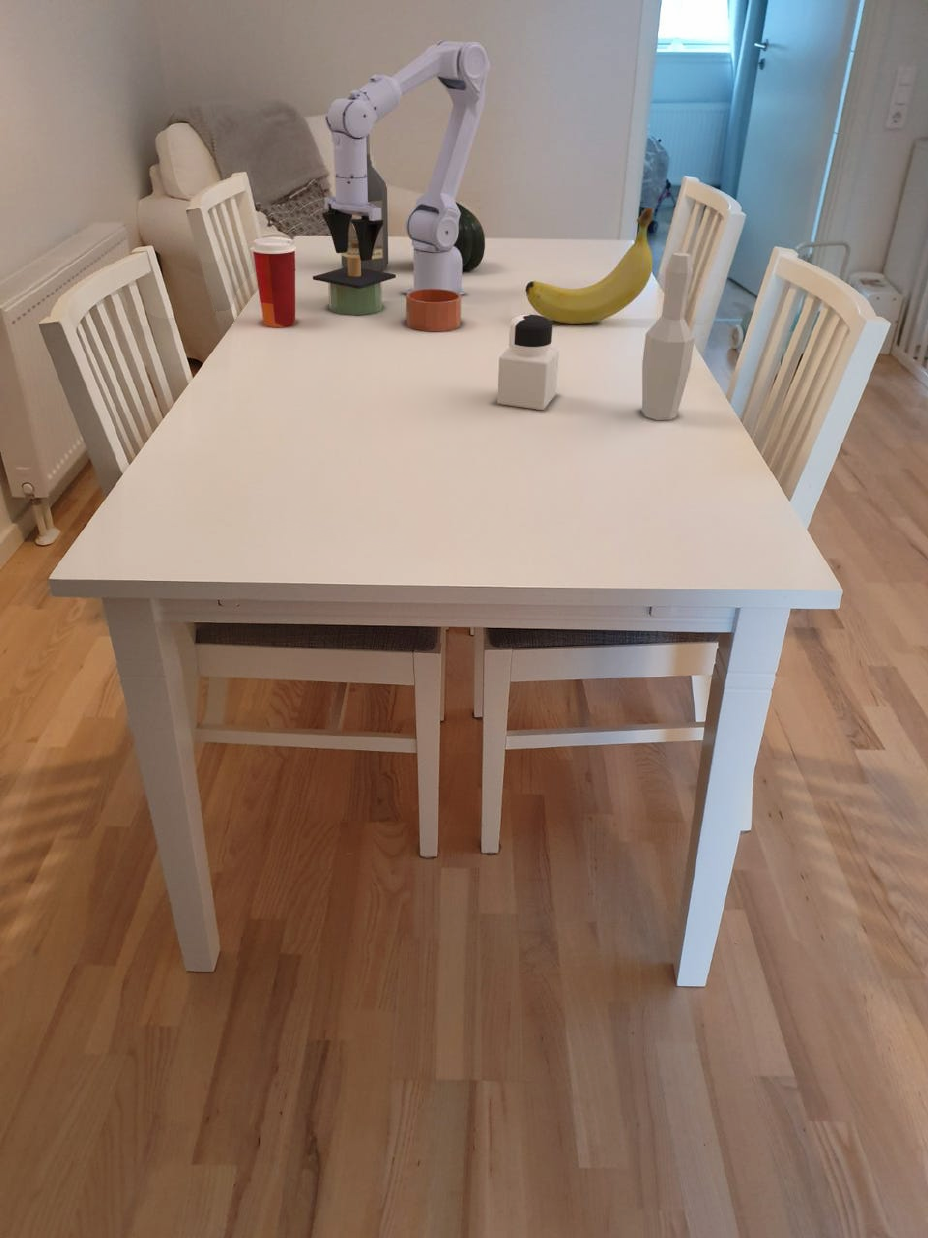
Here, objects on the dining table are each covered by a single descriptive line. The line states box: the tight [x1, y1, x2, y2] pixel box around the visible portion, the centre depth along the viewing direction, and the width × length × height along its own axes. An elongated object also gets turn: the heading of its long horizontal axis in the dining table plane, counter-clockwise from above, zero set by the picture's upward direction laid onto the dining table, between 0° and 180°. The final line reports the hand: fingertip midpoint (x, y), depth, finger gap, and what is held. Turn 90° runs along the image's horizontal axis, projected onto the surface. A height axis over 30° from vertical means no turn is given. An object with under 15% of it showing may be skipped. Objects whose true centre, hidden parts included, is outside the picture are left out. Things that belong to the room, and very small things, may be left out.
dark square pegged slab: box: [312, 255, 397, 289], centre depth 178 cm, size 11×11×4 cm
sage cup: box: [327, 282, 383, 316], centre depth 181 cm, size 10×10×5 cm
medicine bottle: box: [496, 314, 560, 411], centre depth 138 cm, size 7×7×12 cm
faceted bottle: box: [641, 251, 696, 421], centre depth 132 cm, size 6×6×22 cm
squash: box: [436, 201, 486, 272], centre depth 208 cm, size 14×15×15 cm
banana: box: [525, 207, 655, 325], centre depth 172 cm, size 23×6×20 cm, turn 94°
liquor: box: [340, 133, 389, 272], centre depth 201 cm, size 9×9×30 cm
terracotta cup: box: [405, 289, 462, 332], centre depth 173 cm, size 10×10×5 cm
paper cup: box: [249, 236, 297, 328], centre depth 169 cm, size 8×8×14 cm
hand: (353, 256), depth 177 cm, fingers open, 7 cm apart
